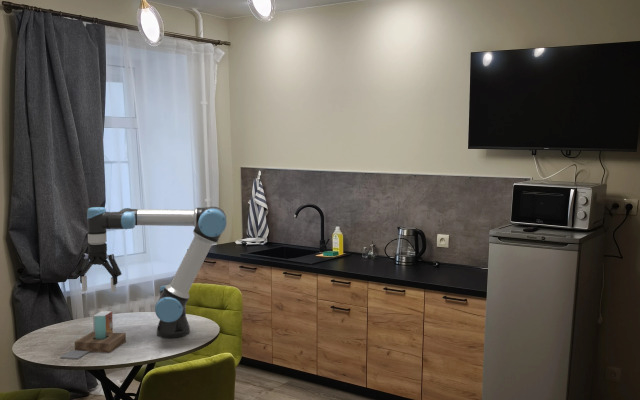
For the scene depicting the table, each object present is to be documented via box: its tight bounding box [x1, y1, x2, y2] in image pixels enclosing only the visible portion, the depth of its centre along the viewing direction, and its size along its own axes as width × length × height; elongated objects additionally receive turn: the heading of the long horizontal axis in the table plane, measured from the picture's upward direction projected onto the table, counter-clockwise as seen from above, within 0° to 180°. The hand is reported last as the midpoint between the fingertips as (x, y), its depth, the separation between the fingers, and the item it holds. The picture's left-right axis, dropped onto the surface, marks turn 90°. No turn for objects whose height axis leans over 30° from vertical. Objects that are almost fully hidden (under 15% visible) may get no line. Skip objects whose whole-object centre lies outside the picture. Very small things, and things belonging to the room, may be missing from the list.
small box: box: [92, 310, 114, 333], centre depth 260 cm, size 8×6×10 cm
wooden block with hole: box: [74, 331, 127, 354], centre depth 245 cm, size 16×14×4 cm
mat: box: [59, 349, 90, 360], centre depth 235 cm, size 8×8×1 cm
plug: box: [95, 316, 106, 340], centre depth 245 cm, size 4×4×13 cm
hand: (99, 291), depth 244 cm, fingers open, 13 cm apart
